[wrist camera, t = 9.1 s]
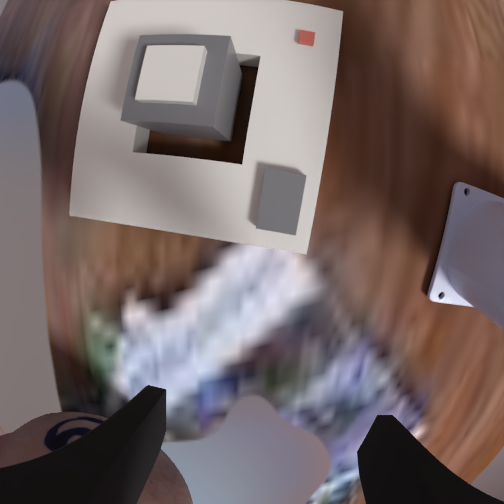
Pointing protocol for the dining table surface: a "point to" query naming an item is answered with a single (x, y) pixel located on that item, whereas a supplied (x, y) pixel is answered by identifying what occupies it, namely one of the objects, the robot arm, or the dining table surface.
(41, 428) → the ceramic pitcher
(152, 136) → the dining table surface
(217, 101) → the plug
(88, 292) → the dining table surface
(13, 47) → the dining table surface
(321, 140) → the socket plate
